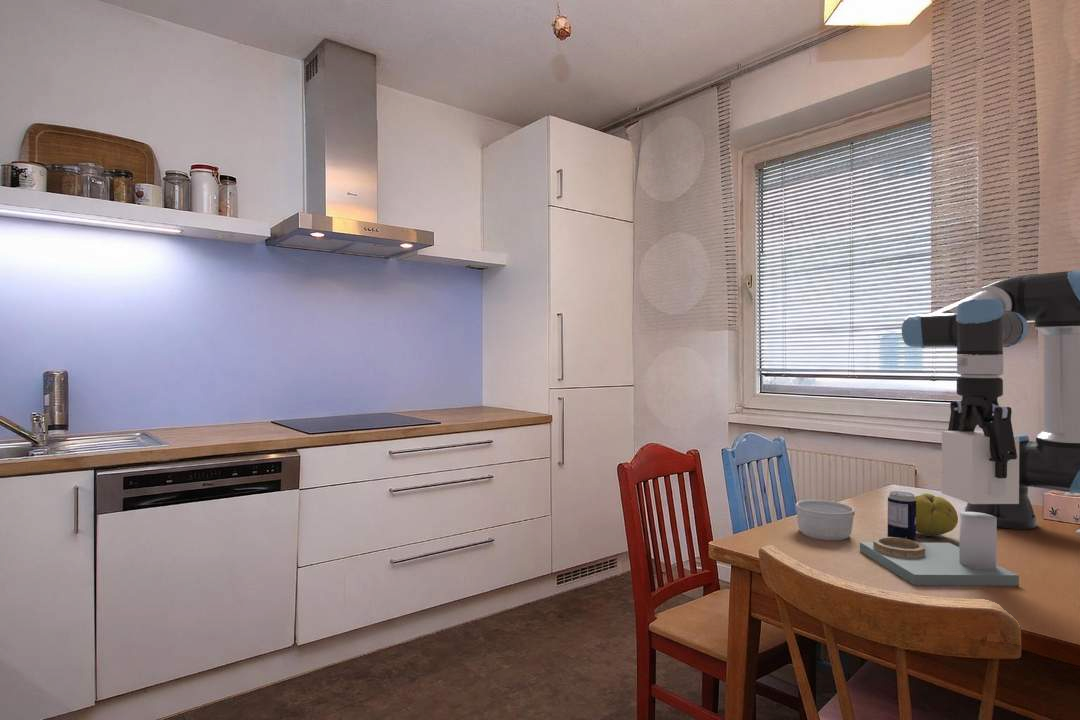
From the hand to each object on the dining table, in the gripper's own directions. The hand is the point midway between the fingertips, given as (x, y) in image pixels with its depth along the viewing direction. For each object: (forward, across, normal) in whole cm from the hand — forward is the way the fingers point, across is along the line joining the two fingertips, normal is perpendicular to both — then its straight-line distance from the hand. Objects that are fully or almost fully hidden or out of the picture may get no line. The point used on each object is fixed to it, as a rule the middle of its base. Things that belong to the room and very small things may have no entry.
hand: (978, 488), depth 121 cm
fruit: (+18, -26, +6) cm, 32 cm away
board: (+17, -4, -6) cm, 19 cm away
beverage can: (+18, -19, -4) cm, 26 cm away
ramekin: (+18, -27, -18) cm, 37 cm away
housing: (+2, 0, 0) cm, 2 cm away
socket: (+15, -9, -11) cm, 21 cm away
